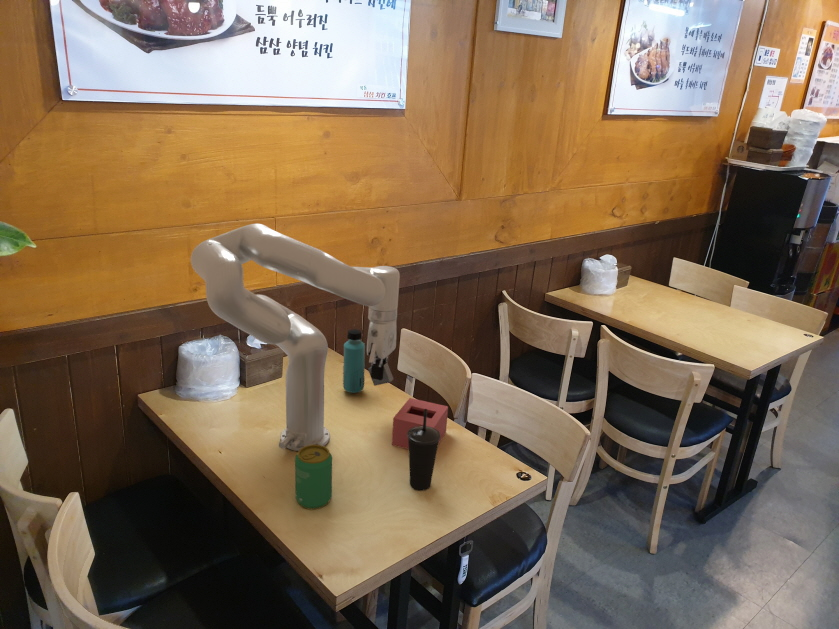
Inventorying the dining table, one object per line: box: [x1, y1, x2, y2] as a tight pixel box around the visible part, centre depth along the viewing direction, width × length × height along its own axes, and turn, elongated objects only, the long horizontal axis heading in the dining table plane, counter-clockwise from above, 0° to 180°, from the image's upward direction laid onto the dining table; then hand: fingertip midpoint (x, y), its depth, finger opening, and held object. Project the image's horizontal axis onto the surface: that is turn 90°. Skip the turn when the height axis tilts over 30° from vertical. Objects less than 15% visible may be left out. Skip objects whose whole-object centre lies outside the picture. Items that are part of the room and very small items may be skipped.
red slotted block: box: [391, 397, 449, 450], centre depth 164 cm, size 12×11×8 cm
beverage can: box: [294, 445, 333, 510], centre depth 137 cm, size 8×8×12 cm
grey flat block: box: [367, 361, 394, 386], centre depth 169 cm, size 2×5×5 cm, turn 70°
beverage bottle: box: [342, 328, 366, 394], centre depth 184 cm, size 6×7×20 cm
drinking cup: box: [407, 409, 441, 492], centre depth 143 cm, size 8×8×20 cm
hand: (378, 376), depth 169 cm, fingers closed on grey flat block, 2 cm apart
